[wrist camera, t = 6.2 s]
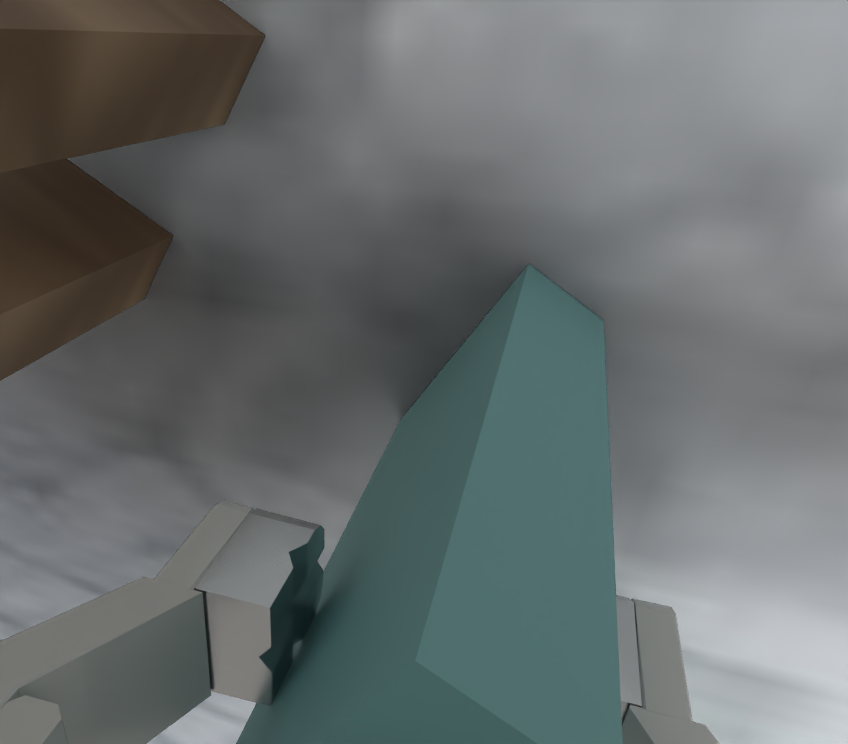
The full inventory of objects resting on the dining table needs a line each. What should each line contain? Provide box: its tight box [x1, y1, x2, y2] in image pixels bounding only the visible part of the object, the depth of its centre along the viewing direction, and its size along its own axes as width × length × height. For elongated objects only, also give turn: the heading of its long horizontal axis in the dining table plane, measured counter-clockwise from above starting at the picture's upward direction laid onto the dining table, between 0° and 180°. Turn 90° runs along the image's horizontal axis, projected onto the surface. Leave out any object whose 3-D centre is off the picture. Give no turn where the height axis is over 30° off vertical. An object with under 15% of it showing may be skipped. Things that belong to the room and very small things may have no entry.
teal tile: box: [236, 264, 623, 744], centre depth 10 cm, size 2×5×10 cm, turn 146°
